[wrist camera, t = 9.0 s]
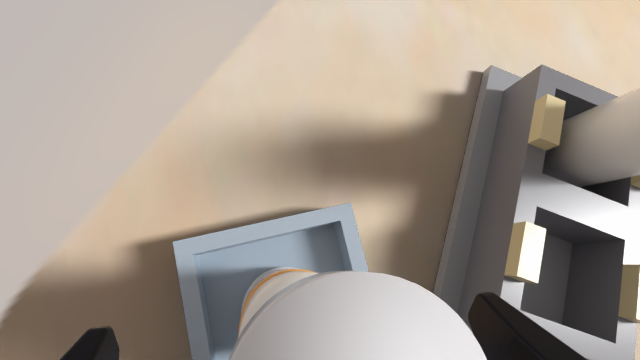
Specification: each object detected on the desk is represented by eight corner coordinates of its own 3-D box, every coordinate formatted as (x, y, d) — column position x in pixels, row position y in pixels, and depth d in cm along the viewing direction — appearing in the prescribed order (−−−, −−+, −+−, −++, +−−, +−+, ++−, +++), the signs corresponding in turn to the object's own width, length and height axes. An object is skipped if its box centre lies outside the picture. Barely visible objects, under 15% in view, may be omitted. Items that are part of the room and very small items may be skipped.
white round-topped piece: (338, 317, 17) (554, 446, 5) (272, 371, 16) (335, 705, 4) (293, 251, 18) (390, 218, 5) (225, 299, 17) (146, 401, 4)
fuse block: (577, 386, 19) (673, 422, 15) (423, 334, 19) (476, 356, 14) (607, 123, 24) (688, 91, 19) (483, 71, 23) (538, 25, 18)
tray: (380, 368, 18) (396, 382, 16) (212, 423, 16) (206, 448, 14) (340, 209, 19) (350, 202, 17) (182, 244, 18) (172, 241, 15)
